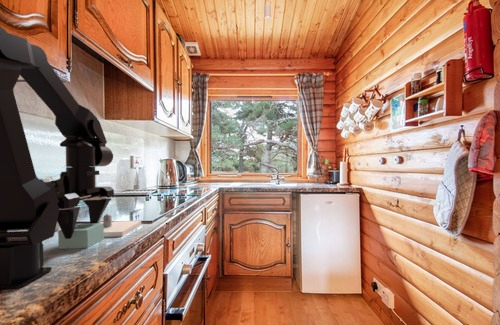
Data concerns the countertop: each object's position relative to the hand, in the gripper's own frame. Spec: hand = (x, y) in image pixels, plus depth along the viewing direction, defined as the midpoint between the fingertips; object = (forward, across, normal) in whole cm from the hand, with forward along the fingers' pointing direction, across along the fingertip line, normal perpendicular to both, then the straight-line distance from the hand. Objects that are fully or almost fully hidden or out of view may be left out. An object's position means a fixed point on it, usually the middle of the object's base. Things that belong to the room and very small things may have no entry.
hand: (82, 232), depth 58 cm
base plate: (+3, -11, 0) cm, 11 cm away
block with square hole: (+3, 0, 0) cm, 3 cm away
